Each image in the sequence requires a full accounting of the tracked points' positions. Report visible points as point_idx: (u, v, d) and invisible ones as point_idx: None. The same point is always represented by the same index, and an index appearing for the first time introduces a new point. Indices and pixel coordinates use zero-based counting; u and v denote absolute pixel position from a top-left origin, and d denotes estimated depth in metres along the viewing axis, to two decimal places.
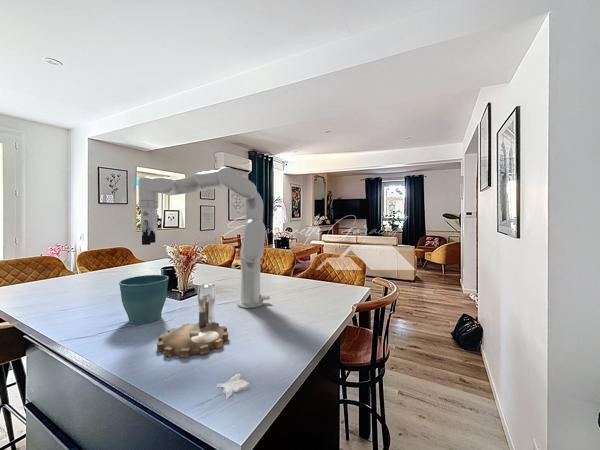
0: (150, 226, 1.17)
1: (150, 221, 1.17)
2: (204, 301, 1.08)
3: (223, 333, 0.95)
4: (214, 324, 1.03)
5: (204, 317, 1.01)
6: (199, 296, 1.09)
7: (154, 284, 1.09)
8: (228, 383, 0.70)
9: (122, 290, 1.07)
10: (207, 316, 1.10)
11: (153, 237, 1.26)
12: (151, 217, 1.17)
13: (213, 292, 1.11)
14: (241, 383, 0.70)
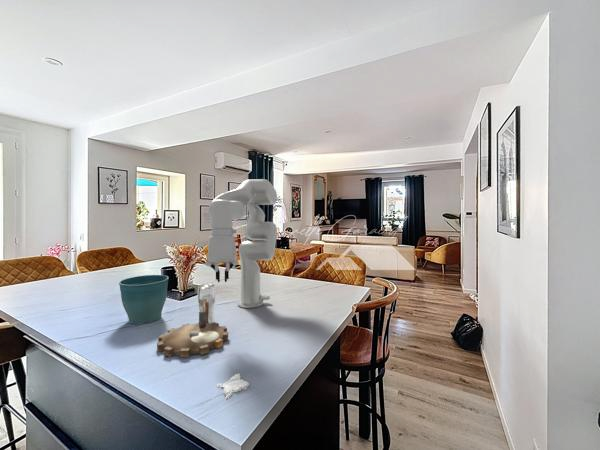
0: None
1: None
2: (204, 301, 1.08)
3: (223, 333, 0.95)
4: (214, 324, 1.03)
5: (204, 317, 1.01)
6: (199, 296, 1.09)
7: (154, 284, 1.09)
8: (228, 383, 0.70)
9: (122, 290, 1.07)
10: (207, 316, 1.10)
11: None
12: None
13: (213, 292, 1.11)
14: (241, 383, 0.70)
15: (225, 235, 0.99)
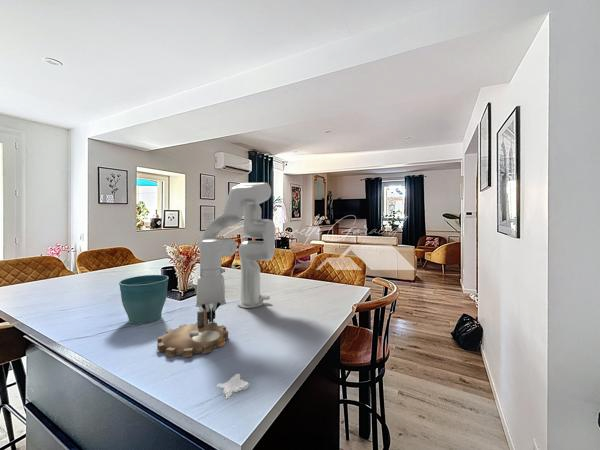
0: None
1: None
2: None
3: (223, 332, 0.96)
4: (212, 324, 1.03)
5: (203, 317, 1.01)
6: None
7: (154, 284, 1.09)
8: (228, 383, 0.70)
9: (122, 290, 1.07)
10: None
11: None
12: None
13: None
14: (241, 383, 0.70)
15: (213, 276, 0.99)
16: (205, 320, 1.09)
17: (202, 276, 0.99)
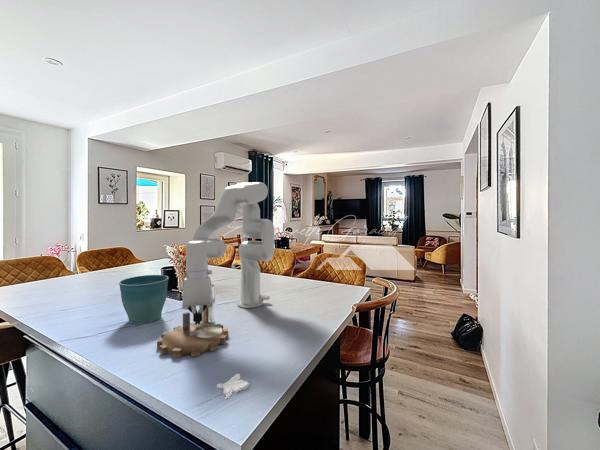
0: None
1: None
2: None
3: (218, 325, 1.02)
4: (194, 324, 1.03)
5: (189, 318, 1.00)
6: None
7: (154, 284, 1.09)
8: (228, 383, 0.70)
9: (122, 290, 1.07)
10: (207, 316, 1.10)
11: None
12: None
13: (213, 292, 1.11)
14: (241, 383, 0.70)
15: (199, 278, 0.97)
16: (205, 320, 1.09)
17: (188, 278, 0.97)
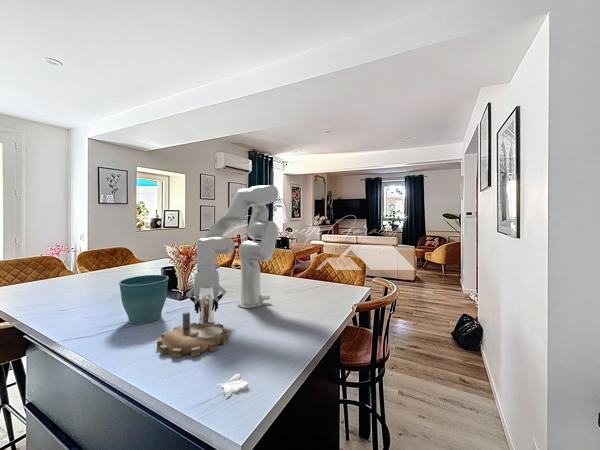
0: None
1: None
2: (204, 301, 1.08)
3: (218, 325, 1.02)
4: (194, 324, 1.03)
5: (189, 318, 1.00)
6: (199, 296, 1.09)
7: (154, 284, 1.09)
8: (228, 383, 0.70)
9: (122, 290, 1.07)
10: (207, 316, 1.10)
11: (198, 305, 1.12)
12: None
13: None
14: (241, 383, 0.70)
15: (209, 271, 1.08)
16: (205, 320, 1.09)
17: (198, 271, 1.08)
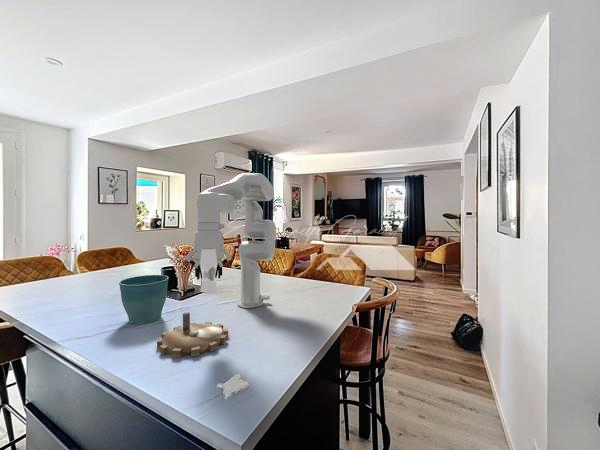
0: None
1: None
2: (206, 265, 0.92)
3: (218, 325, 1.02)
4: (194, 324, 1.03)
5: (189, 318, 1.00)
6: (200, 259, 0.93)
7: (154, 284, 1.09)
8: (228, 383, 0.70)
9: (122, 290, 1.07)
10: (209, 283, 0.94)
11: (199, 271, 0.96)
12: None
13: (216, 255, 0.95)
14: (241, 383, 0.70)
15: (211, 230, 0.92)
16: (207, 287, 0.93)
17: (199, 230, 0.92)
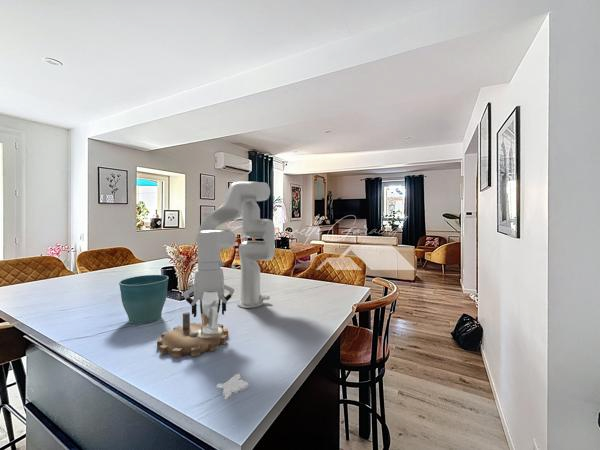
0: None
1: None
2: (207, 308, 0.92)
3: (218, 325, 1.02)
4: (194, 324, 1.03)
5: (189, 318, 1.00)
6: (202, 302, 0.93)
7: (154, 284, 1.09)
8: (228, 383, 0.70)
9: (122, 290, 1.07)
10: (210, 326, 0.93)
11: (196, 308, 0.95)
12: None
13: None
14: (240, 383, 0.70)
15: (212, 269, 0.92)
16: (208, 330, 0.93)
17: (200, 269, 0.92)
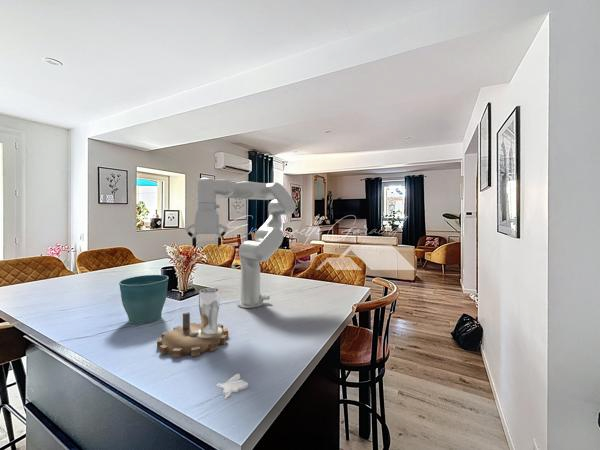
0: None
1: None
2: (207, 308, 0.92)
3: (218, 325, 1.02)
4: (194, 324, 1.03)
5: (189, 318, 1.00)
6: (201, 302, 0.93)
7: (154, 284, 1.09)
8: (227, 383, 0.70)
9: (122, 290, 1.07)
10: (210, 326, 0.93)
11: None
12: None
13: (217, 298, 0.94)
14: (240, 383, 0.69)
15: (209, 209, 1.13)
16: (208, 331, 0.93)
17: (199, 208, 1.13)
